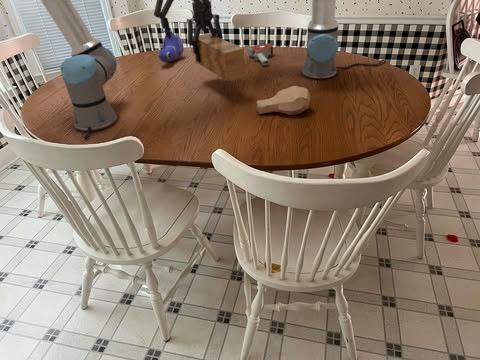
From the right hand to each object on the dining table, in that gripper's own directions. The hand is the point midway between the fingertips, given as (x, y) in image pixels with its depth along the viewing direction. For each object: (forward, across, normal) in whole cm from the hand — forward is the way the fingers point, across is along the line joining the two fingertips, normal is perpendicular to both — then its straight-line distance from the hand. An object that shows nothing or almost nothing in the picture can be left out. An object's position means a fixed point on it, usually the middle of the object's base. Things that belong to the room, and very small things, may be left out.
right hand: (207, 59), depth 154 cm
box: (+1, 0, +10) cm, 11 cm away
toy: (+11, +4, -40) cm, 42 cm away
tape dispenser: (+11, -36, -14) cm, 40 cm away
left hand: (-16, +15, +18) cm, 28 cm away
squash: (+11, -10, +44) cm, 46 cm away
